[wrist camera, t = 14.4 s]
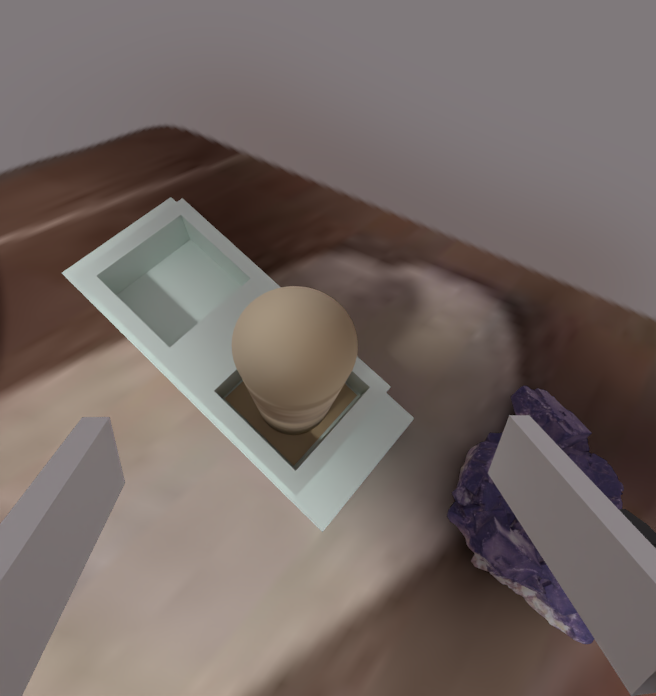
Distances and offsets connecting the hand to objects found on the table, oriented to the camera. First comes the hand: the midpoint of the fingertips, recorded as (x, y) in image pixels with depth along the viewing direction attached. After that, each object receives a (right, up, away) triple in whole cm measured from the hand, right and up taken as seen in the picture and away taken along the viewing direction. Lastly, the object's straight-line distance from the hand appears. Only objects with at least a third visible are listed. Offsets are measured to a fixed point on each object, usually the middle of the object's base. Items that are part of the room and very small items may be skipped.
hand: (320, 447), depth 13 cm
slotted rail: (-7, +3, +16) cm, 17 cm away
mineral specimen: (+15, -8, +15) cm, 23 cm away
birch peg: (-2, 0, +13) cm, 14 cm away
